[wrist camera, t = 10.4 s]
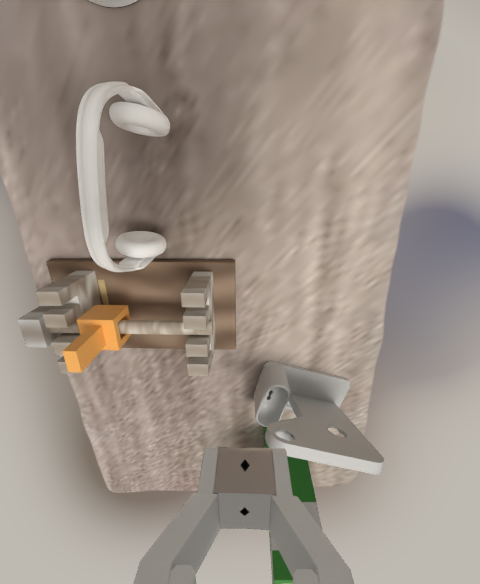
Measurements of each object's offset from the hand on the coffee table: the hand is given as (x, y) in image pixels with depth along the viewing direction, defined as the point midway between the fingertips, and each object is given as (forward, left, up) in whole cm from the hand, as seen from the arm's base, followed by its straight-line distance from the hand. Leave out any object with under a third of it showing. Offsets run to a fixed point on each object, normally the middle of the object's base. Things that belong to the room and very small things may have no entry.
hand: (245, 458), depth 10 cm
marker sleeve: (+10, -20, -29) cm, 37 cm away
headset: (-9, -14, -35) cm, 39 cm away
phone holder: (+28, +11, -35) cm, 46 cm away
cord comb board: (+10, -17, -35) cm, 40 cm away
